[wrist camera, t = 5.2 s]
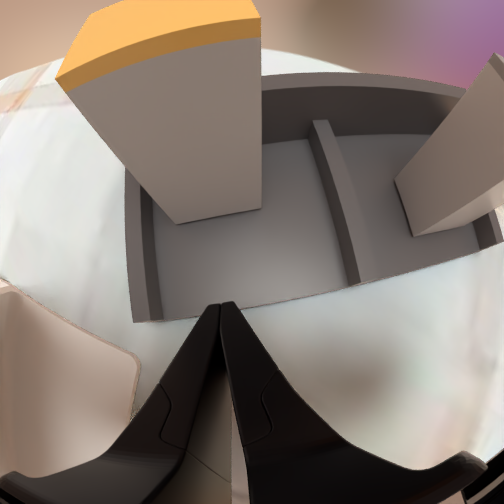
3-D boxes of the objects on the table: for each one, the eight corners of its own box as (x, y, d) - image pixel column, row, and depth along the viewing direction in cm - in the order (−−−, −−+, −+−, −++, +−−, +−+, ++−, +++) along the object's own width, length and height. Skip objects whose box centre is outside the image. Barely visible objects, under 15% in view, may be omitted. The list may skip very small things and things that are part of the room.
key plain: (463, 225, 15) (581, 152, 4) (413, 236, 15) (553, 141, 4) (445, 174, 16) (540, 80, 5) (394, 178, 16) (494, 52, 5)
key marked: (261, 208, 16) (260, 17, 4) (175, 224, 16) (54, 78, 4) (249, 150, 16) (235, -26, 5) (171, 166, 16) (90, 14, 5)
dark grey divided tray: (479, 251, 16) (537, 227, 9) (154, 322, 16) (94, 323, 9) (433, 130, 18) (468, 84, 12) (143, 163, 18) (102, 106, 12)
